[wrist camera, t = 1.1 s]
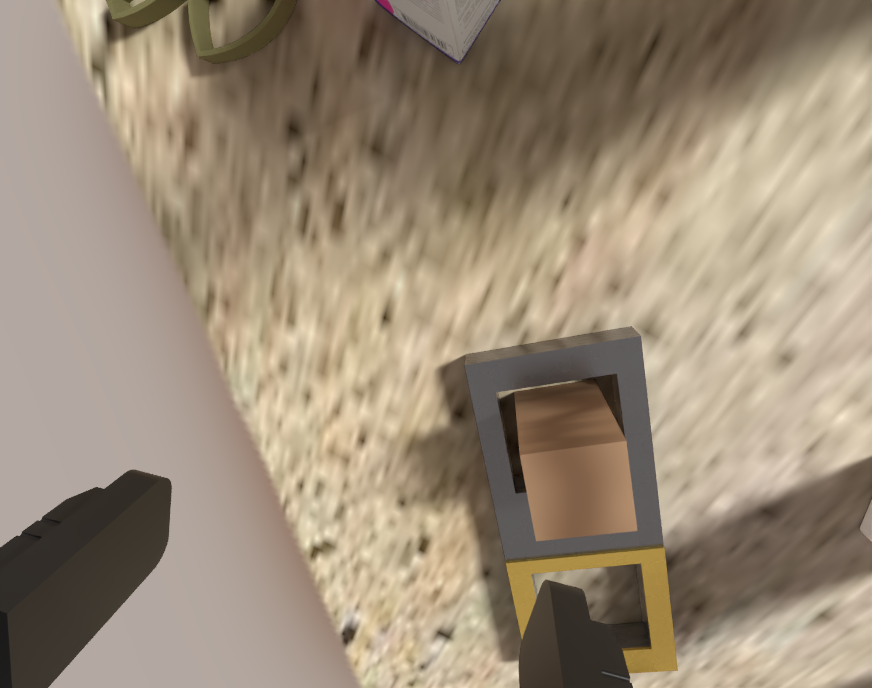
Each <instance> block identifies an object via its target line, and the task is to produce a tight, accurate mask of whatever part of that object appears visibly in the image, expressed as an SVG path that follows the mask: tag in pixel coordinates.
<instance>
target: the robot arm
mask: <svg viewBox="0 0 872 688" xmlns="http://www.w3.org/2000/svg"><path fill="white" fill-rule="evenodd" d="M171 487H172V486H171V482H170V480H169V479H168V478H164V477H161V476H157V475H153V474H149V473H145V472H141V471H138V470H130V471H127V472H126V473H125V474H123V475H122V476H121V477H119V478H118V479H117V480H115V481H114V482H113V483H112V484H110V485H109V486H108V487H106V488H105V489H102V488H98V487H95V488H93V489H90V490H88V491H86V492H83V493H81V494H78V495H76V496H74V497H71V498H69V499H66V500H65V501H64V502H62V503H61V504H60V505H58V506H57V507H55V508H54V509H53V510H51V511H50V512H48V513H47V514H46V515H44V516H43V517H42V520H41V521H36V522H35V523H34V524H32V525H31V526H29V527H28V528H27V529H25V530H24V531H23V532H22V534H21V535H20V536H16V537H14V538H13V539H11V540H10V541H9V542H7V543H6V544H5V545H3V546H2V547H0V688H48V687H49V686H50V685H51V684H52V682H53V681H54V680H55V679H56V678H57V677H58V676H59V675H60V674H61V672H62V671H63V670H64V669H65V668H66V667H67V666H68V665H69V664H70V662H71V661H72V660H73V659H74V658H75V657H76V656H77V655H78V653H79V652H80V651H81V650H82V649H83V648H84V647H85V645H86V644H87V643H88V642H89V641H90V640H91V639H92V638H93V636H95V634H96V633H97V632H98V631H99V630H100V629H101V628H102V627H103V625H104V624H105V623H106V622H107V621H108V620H109V619H110V618H111V617H112V615H113V614H114V613H115V612H116V611H117V610H118V609H119V608H120V606H121V605H122V604H123V603H124V602H125V601H126V600H127V599H128V598H129V596H130V595H131V594H132V593H133V592H134V591H135V590H136V589H137V587H138V586H139V585H140V584H141V583H142V582H143V581H144V580H145V579H146V577H147V576H148V575H149V574H150V573H151V572H152V570H153V569H154V568H155V567H156V565H157V564H158V563H159V561H160V559H161V557H162V556H163V553H164V551H165V548H166V546H167V542H168V537H169V522H170V505H171V489H172V488H171ZM519 684H520V688H633V686H632V683H630V676H629V672H628V668H627V665H626V661H625V657H624V654H623V650H622V648H621V647H620V645H619V644H618V642H617V641H616V639H615V638H614V636H613V635H612V633H611V631H610V630H609V628H608V627H607V625H606V624H603V623H599V622H596V621H592V620H590V616H589V611H588V607H587V602H586V597H585V594H584V591H583V590H582V589H580V588H576V587H572V586H568V585H564V584H561V583H557V582H553V581H549V580H545V581H544V582H543V583H542V585H541V588H540V591H539V593H538V596H537V599H536V602H535V604H534V607H533V610H532V613H531V615H530V618H529V621H528V624H527V626H526V629H525V632H524V635H523V638H522V643H521V648H520V656H519Z"/></svg>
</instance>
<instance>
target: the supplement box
mask: <svg viewBox="0 0 872 688" xmlns="http://www.w3.org/2000/svg"><path fill="white" fill-rule="evenodd" d="M375 1H376V2H377V3H378V4H379V5H380V6H382V7H383V8H384V9H385V10H387V11H388V12H389V13H390V14H392V15H393V16H394V17H395V18H397V19H398V20H399V21H401V22H402V23H403V24H405V25H406V26H407V27H409V28H410V29H411V30H413V31H414V32H415V33H417V34H418V35H419V36H421V37H422V38H423V39H425V40H426V41H427V42H429V43H430V44H431V45H433V46H434V47H435V48H437V49H438V50H439V51H441V52H442V53H444V54H445V55H446V56H448V57H449V58H451V59H452V60H454V61H455V62H456V63H457V64H460V63H461V62H462V60H463V59H464V57H465V56H466V54H467V53H468V51H469V50H470V48H471V46H472V45H473V43H474V41H475V40H476V38H477V37H478V35H479V33H480V32H481V30H482V29H483V27H484V26H485V24H486V22H487V21H488V19H489V18H490V16H491V14H492V13H493V11H494V10H495V8H496V6H497V5H498V3H499V2H500V0H375Z"/></svg>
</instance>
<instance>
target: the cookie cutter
mask: <svg viewBox="0 0 872 688" xmlns="http://www.w3.org/2000/svg"><path fill="white" fill-rule="evenodd" d="M106 1H107V4H108V7H109V10H110V13H111V16H112V19H113V20H115V21H118V22H120V23H122V24H125V25H127V26H129V27H131V28H137V27H142V26H145V25H148V24H151V23H153V22H155V21H157V20H159V19H161V18H163V17H165V16H166V15H168V14H169V13H171V12H172V11H174V10H175V9H177V8H178V7H179V6H181V5H182V4H183V3H184V2H186V1H187V0H145V1H144V2H142V3H140V4H138V5H136V6H134V7H132V8H131V7H130V4H129V3H130V2H131V1H132V0H106ZM209 1H210V0H188V15H189V23H190V29H191V35H192V39H193V43H194V47H195V50H196V53H197V57H200V58H202V59H204V60H207V61H209V62H211V63H223V62H229V61H233V60H237V59H240V58H243V57H246V56H248V55H250V54H252V53H254V52H256V51H258V50H260V49H261V48H263V47H264V46H266V45H267V44H268V43H269V42H271V41H272V40H273V39H274V38H275V37H276V36H277V35H278V34H279V33H280V31H281V30H282V29H283V28H284V26H285V25H286V23H287V22H288V20H289V18H290V16H291V14H292V12H293V10H294V7H295V5H296V1H297V0H276V1H275V3H274V5H273V6H272V8H271V10H270V11H269V13H268V14H267V16H266V17H265V18H264V19H263V21H262V22H261V23H260V24H259V25H258V26H257V27H256V28H255V29H253V30H252V31H251V32H250V33H248V34H247V35H246V36H244V37H242V38H241V39H239V40H237V41H235V42H233V43H231V44H228V45H226V46H223V47H219V48H216V49H213V44H212V39H211V33H210V23H209Z"/></svg>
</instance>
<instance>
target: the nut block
mask: <svg viewBox="0 0 872 688" xmlns="http://www.w3.org/2000/svg"><path fill="white" fill-rule="evenodd" d="M514 397H515V408H516V419H517V430H518V441H519V453H520V459H521V465H522V470H523V475H524V480H525V486H526V491H527V496H528V502H529V507H530V512H531V517H532V523H533V528H534V533H535V539H536V541H544V540H554V539H563V538H573V537H583V536H592V535H602V534H611V533H621V532H631V531H637V522H636V514H635V506H634V498H633V490H632V482H631V474H630V466H629V458H628V450H627V442H626V439H625V437H624V435H623V433H622V431H621V429H620V427H619V426H618V424H617V422H616V420H615V418H614V416H613V414H612V412H611V410H610V408H609V406H608V404H607V402H606V400H605V398H604V396H603V394H602V393H601V391H600V389H599V387H598V385H597V383H596V381H595V379H594V380H587V381H581V382H575V383H568V384H562V385H555V386H549V387H542V388H536V389H529V390H523V391H516V392H514Z"/></svg>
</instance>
